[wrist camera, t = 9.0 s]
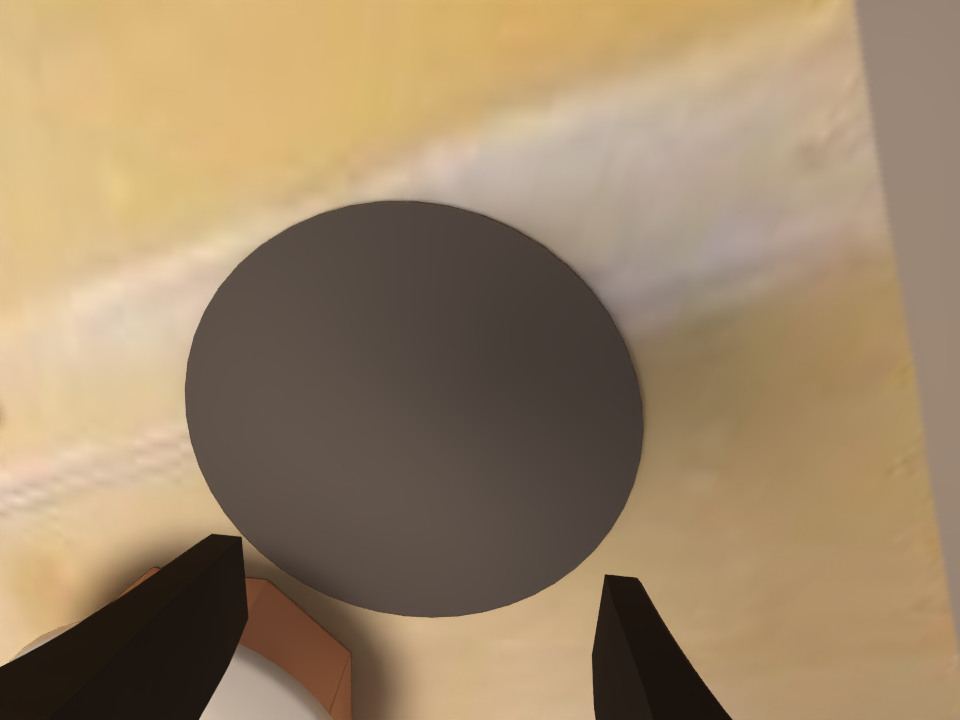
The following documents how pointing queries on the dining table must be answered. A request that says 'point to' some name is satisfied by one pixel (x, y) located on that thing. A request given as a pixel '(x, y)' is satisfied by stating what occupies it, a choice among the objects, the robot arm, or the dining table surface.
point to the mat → (414, 409)
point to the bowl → (294, 645)
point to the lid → (245, 689)
